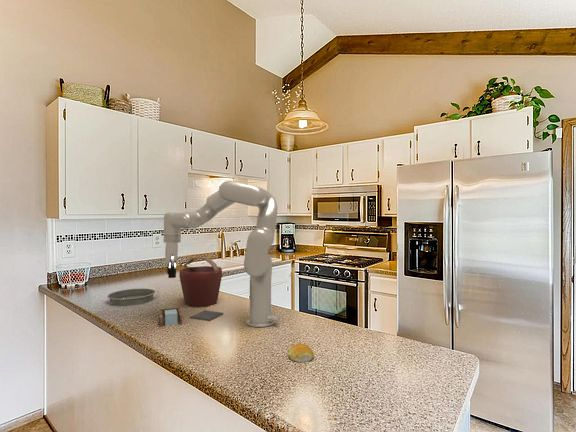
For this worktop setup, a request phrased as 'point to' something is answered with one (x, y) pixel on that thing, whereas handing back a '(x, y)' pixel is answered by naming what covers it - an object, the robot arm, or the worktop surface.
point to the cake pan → (131, 297)
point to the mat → (206, 315)
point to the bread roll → (300, 353)
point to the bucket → (200, 283)
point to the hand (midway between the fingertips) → (171, 275)
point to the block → (170, 317)
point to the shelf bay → (162, 314)
